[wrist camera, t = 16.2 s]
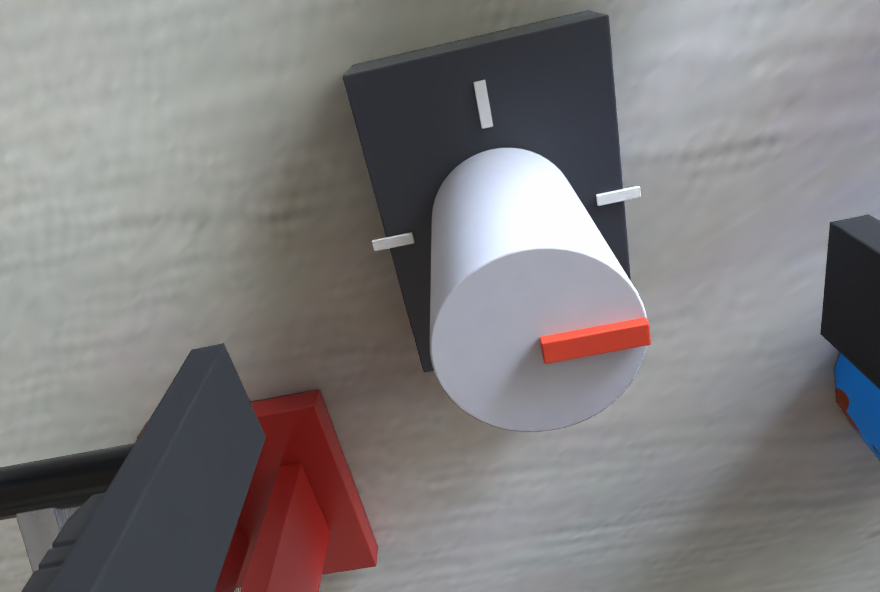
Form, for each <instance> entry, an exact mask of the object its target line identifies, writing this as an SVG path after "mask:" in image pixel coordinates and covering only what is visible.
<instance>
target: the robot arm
mask: <svg viewBox="0 0 880 592" xmlns="http://www.w3.org/2000/svg"><path fill="white" fill-rule="evenodd" d="M821 335H822V336H823V337H824V338H825V339H826V340H827V341H829V342H830V343H831V344H832V345H833V346H834V347H835V348H836V349H837V350H838V351H839V352H840V353H841V354H842V355H843V356H844V357H846V358H847V359H848V360H849V361H850V362H851V363H852V364H853V365H854V366H855V367H856V368H857V369H858V370H859V371H860V372H861V373H863V374H864V375H865V376H866V377H867V378H868V379H869V380H870V381H871V382H872V383H873V384H874V385H875V386H876V387H877V388H878V389H880V221H879V220H877V219H875V218H873V217H872V216H870V215H864V216H859V217H854V218H849V219H844V220H839V221H834V222H830V229H829V241H828V252H827V264H826V276H825V287H824V299H823V311H822V322H821ZM265 438H266V436H265V434H264V431H263V429H262V427H261V425H260V423H259V420H258V418H257V416H256V414H255V411H254V409H253V407H252V405H251V402H250V400H249V398H248V396H247V394H246V391H245V389H244V387H243V385H242V382H241V380H240V378H239V376H238V374H237V371H236V369H235V367H234V365H233V362H232V360H231V358H230V356H229V353H228V351H227V349H226V347H225V345H224V343H223V344H218V345H213V346H208V347H203V348H198V349H193V350H191V351H190V353H189V355H188V356H187V358H186V360H185V361H184V363H183V365H182V366H181V368H180V370H179V371H178V373H177V375H176V376H175V378H174V380H173V381H172V383H171V385H170V386H169V388H168V390H167V391H166V393H165V394H164V396H163V398H162V399H161V401H160V403H159V404H158V406H157V408H156V409H155V411H154V413H153V414H152V416H151V418H150V419H149V421H148V423H147V424H146V426H145V428H144V429H143V431H142V433H141V434H140V436H139V438H138V439H137V441H136V443H135V444H134V446H133V448H132V449H131V451H130V453H129V454H128V456H127V458H126V459H125V461H124V463H123V464H122V466H121V468H120V469H119V471H118V473H117V474H116V476H115V478H114V479H113V481H112V483H111V484H110V486H109V488H108V489H107V491H106V492H105V493H100V494H94V495H92V496H91V497H90V498H89V499H88V500H87V501H86V502H85V503H84V504H83V505H82V506H81V507H80V508H79V509H78V510H77V511H76V512H75V513H74V514H73V515H72V516H71V517H69V518H68V520H67V521H66V523H65V525H64V526H63V528H62V529H61V531H60V532H59V534H58V535H57V537H56V539H55V540H54V542H53V543H52V549H49V550H48V551H47V553H46V554H45V556H44V557H43V559H42V560H41V562H40V564H39V565H38V566H39V569H38V570H37V571H34V573H33V575H32V576H31V578H30V579H29V581H28V582H27V584H26V585H25V587H24V589H23V590H22V592H214V591H215V588H216V585H217V582H218V579H219V576H220V573H221V570H222V567H223V564H224V561H225V558H226V555H227V552H228V549H229V546H230V543H231V540H232V537H233V534H234V531H235V528H236V525H237V522H238V519H239V516H240V513H241V510H242V507H243V504H244V501H245V498H246V495H247V492H248V489H249V486H250V483H251V480H252V477H253V474H254V471H255V468H256V465H257V462H258V459H259V456H260V453H261V450H262V447H263V444H264V441H265Z"/></svg>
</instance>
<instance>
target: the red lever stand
mask: <svg viewBox="0 0 880 592" xmlns="http://www.w3.org/2000/svg"><path fill="white" fill-rule="evenodd" d="M251 405H252V407H253V409H254V411H255V414H256V416H257V418H258V420H259V423H260V425H261V427H262V429H263V431H264V434H265V436H266V438H265V441H264V444H263V447H262V450H261V453H260V456H259V459H258V462H257V465H256V468H255V471H254V474H253V477H252V480H251V483H250V486H249V489H248V492H247V495H246V498H245V501H244V504H243V507H242V510H241V513H240V516H239V519H238V522H237V525H236V528H235V531H234V534H233V537H232V540H231V543H230V546H229V549H228V552H227V555H226V558H225V561H224V564H223V567H222V570H221V573H220V576H219V579H218V582H217V585H216V588H215V591H214V592H234V590H235V588H238V587H242V589H241V592H319V588H320V582H321V577H322V574H329V573H335V572H342V571H348V570H355V569H361V568H368V567H374V566H376V563H377V553H378V545H377V543H376V540H375V537H374V535H373V532H372V529H371V527H370V524H369V521H368V518H367V516H366V513H365V510H364V508H363V505H362V502H361V500H360V497H359V494H358V492H357V489H356V486H355V484H354V481H353V478H352V476H351V473H350V470H349V468H348V465H347V462H346V460H345V457H344V454H343V451H342V449H341V446H340V443H339V441H338V438H337V435H336V433H335V430H334V427H333V425H332V422H331V419H330V417H329V414H328V411H327V409H326V406H325V403H324V401H323V398H322V395H321V393H320V390H314V391H309V392H303V393H298V394H292V395H287V396H281V397H276V398H270V399H265V400H259V401H254V402H251ZM147 423H148V422H147ZM147 423H146V424H147ZM146 424H145V426H146ZM145 426H144V428H145ZM144 428H143V429H144ZM143 429H142V431H143ZM142 431H141V432H140V434H141V433H142ZM140 434H139V435H138V437H137V439H138V438H139V436H140Z"/></svg>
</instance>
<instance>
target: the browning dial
mask: <svg viewBox="0 0 880 592" xmlns="http://www.w3.org/2000/svg"><path fill="white" fill-rule="evenodd" d="M650 344H651V340H650V327H649V323H648V321H647V317H646V312H645V309H644V306H643V303H642V301H641V299H640V297H639V295H638V293H637V291H636V289H635V288H634V286H633V284H632V283H631V281H630V280H629V278H628V276H627V275H626V273H625V272H624V270H623V268H622V267H621V265H620V264H619V262H618V260H617V259H616V257H615V256H614V254H613V252H612V251H611V249H610V248H609V246H608V244H607V243H606V241H605V239H604V238H603V236H602V235H601V233H600V231H599V230H598V228H597V227H596V225H595V223H594V222H593V220H592V219H591V217H590V215H589V214H588V212H587V211H586V209H585V207H584V206H583V204H582V203H581V201H580V199H579V198H578V196H577V195H576V193H575V191H574V190H573V188H572V187H571V185H570V183H569V182H568V180H567V179H566V177H565V176H564V175H563V173H562V172H561V171H560V170H559V169H558V168H557V167H556V166H555V165H554V164H553V163H552V162H550V161H549V160H548V159H546V158H544V157H542V156H541V155H539V154H536V153H534V152H531V151H528V150H524V149H518V148H497V149H491V150H487V151H484V152H481V153H478V154H476V155H474V156H472V157H470V158H468V159H467V160H465V161H463V162H462V163H461V164H459V165H458V166H457V167H456V168H455V169H454V170H453V171H452V172H451V173H450V174H449V175H448V176H447V178H446V179H445V180H444V182H443V183H442V185H441V187H440V188H439V190H438V193H437V195H436V198H435V201H434V205H433V211H432V236H431V296H430V356H431V361H432V366H433V369H434V372H435V375H436V377H437V379H438V381H439V383H440V385H441V387H442V388H443V390H444V391H445V392H446V394H447V395H448V396H449V398H450V399H451V400H452V401H453V402H454V403H455V404H456V405H457V406H458V407H460V408H461V409H462V410H464V411H465V412H466V413H467V414H469V415H471V416H472V417H474V418H476V419H477V420H480V421H482V422H484V423H486V424H489V425H492V426H495V427H498V428H502V429H507V430H512V431H522V432H541V431H550V430H556V429H560V428H564V427H568V426H571V425H574V424H577V423H579V422H582V421H584V420H586V419H588V418H590V417H592V416H594V415H595V414H597V413H599V412H601V411H602V410H604V409H605V408H606V407H608V406H609V405H610V404H612V403H613V402H614V401H615V400H616V399H617V398H618V397H619V396H620V395H621V394H622V393H623V392H624V391H625V390H626V388H627V387H628V386H629V385H630V383H631V382H632V380H633V379H634V377H635V376H636V374H637V372H638V370H639V368H640V366H641V364H642V361H643V358H644V355H645V351H646V346H647V345H650Z"/></svg>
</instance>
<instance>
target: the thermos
mask: <svg viewBox="0 0 880 592" xmlns="http://www.w3.org/2000/svg"><path fill="white" fill-rule="evenodd" d="M834 375H835V388H836V402H837V403H838V405H839V406H840V408H841V410H842V411H843V413H844V414H845V416H846V417H847V419H848V420H849V422H850V423H851V425H852V426H853V428H854V429H855V430H856V431H857V433H858V434H859V435H860V437H861V438H862V439H863V440H864V442H865V443H866V444H867V445H868V447H869V448H870V449H871V450H872V452H873V453H874V454H875V455H876V457H877V458H878V459H879V460H880V389H878V388H877V387H876V386H875V385H874V384H873V383H872V382H871V381H870V380H869V379H868V378H867V377H866V376H865V375H864V374H863V373H861V372H860V371H859V370H858V369H857V368H856V367H855V366H854V365H853V364H852V363H851V362H850V361H849V360H848V359H847V358H846V357H844V356H843V355H842V354H841V353H840V355H839V358H838V360H837V363H836V366H835V369H834Z"/></svg>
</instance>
